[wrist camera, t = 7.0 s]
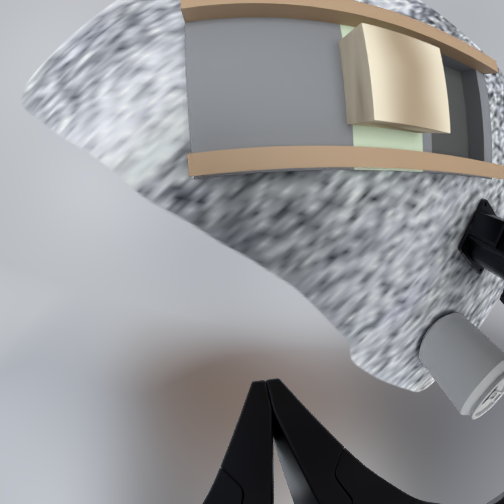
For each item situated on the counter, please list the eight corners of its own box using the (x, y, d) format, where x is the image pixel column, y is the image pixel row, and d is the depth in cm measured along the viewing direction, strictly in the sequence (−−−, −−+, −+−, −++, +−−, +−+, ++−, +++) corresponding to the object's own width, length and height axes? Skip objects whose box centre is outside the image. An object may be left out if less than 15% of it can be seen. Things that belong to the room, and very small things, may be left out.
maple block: (410, 58, 13) (439, 48, 10) (418, 133, 16) (450, 133, 12) (338, 41, 13) (361, 22, 10) (347, 124, 15) (374, 119, 12)
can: (442, 300, 24) (512, 363, 13) (467, 317, 26) (524, 370, 15) (404, 354, 26) (458, 427, 15) (433, 363, 28) (480, 423, 17)
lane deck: (465, 63, 15) (495, 58, 11) (474, 175, 20) (506, 183, 15) (189, 21, 14) (181, -9, 10) (198, 175, 18) (189, 182, 14)
